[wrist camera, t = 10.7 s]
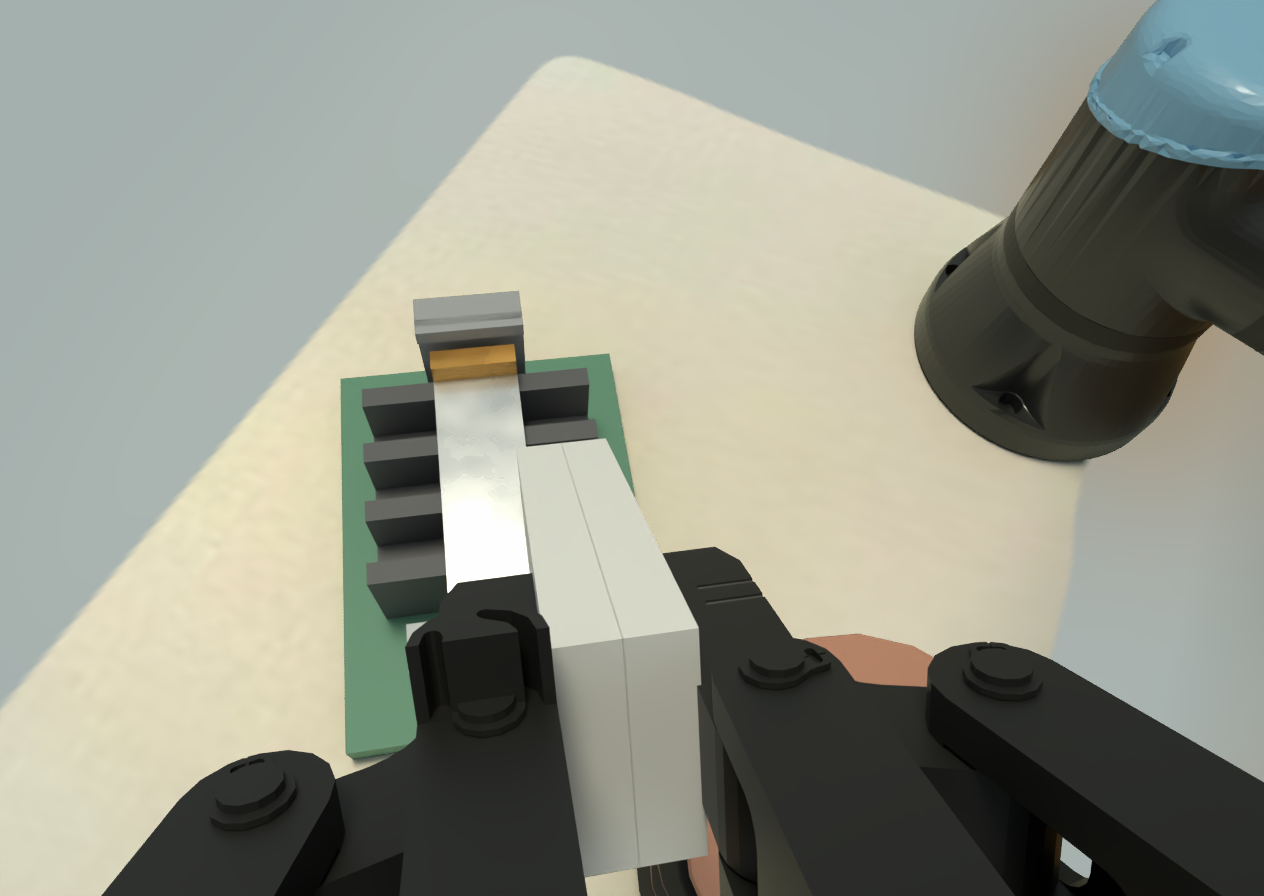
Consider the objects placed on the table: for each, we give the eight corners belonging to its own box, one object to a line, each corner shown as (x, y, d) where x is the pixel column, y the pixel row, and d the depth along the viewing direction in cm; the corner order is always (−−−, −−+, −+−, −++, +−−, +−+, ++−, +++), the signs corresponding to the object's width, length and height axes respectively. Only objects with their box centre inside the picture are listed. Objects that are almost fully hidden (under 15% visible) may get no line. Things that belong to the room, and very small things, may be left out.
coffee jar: (584, 877, 39) (602, 851, 24) (723, 691, 44) (817, 563, 28) (780, 1055, 37) (948, 1161, 21) (907, 839, 41) (1126, 791, 25)
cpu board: (607, 367, 52) (617, 263, 44) (668, 710, 43) (695, 661, 35) (346, 393, 50) (303, 287, 42) (352, 759, 41) (299, 719, 33)
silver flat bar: (516, 369, 44) (513, 343, 42) (551, 656, 37) (550, 640, 35) (435, 377, 44) (429, 351, 42) (455, 669, 37) (449, 654, 35)
